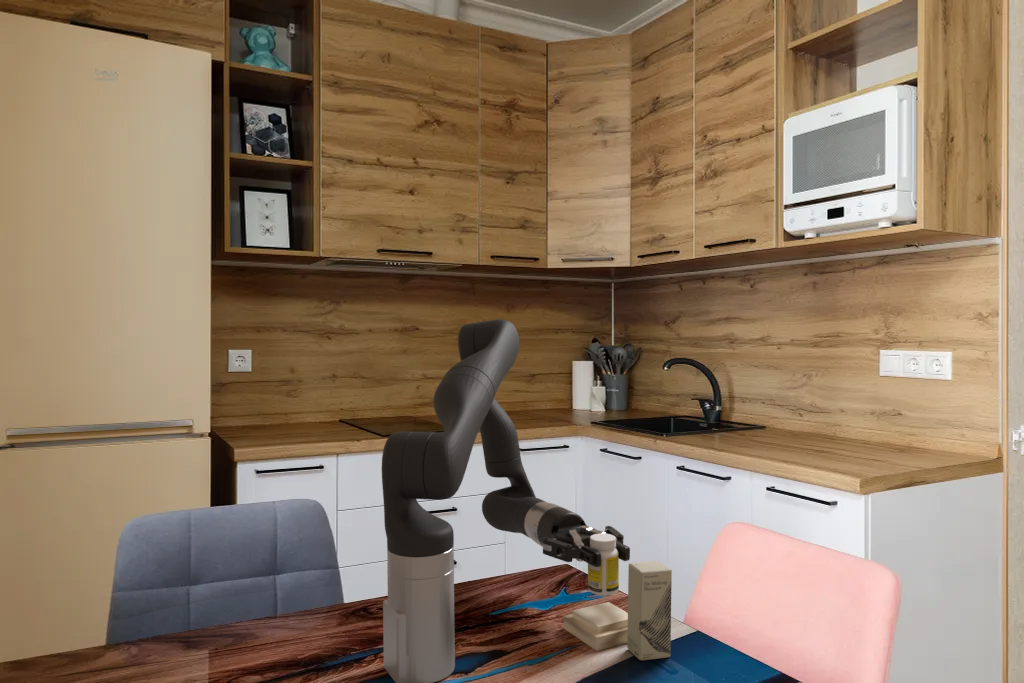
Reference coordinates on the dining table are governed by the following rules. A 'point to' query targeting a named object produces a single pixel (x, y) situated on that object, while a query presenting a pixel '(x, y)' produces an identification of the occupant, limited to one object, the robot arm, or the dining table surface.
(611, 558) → the supplement bottle
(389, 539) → the robot arm
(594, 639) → the cream stand
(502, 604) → the dining table surface
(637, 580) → the box
